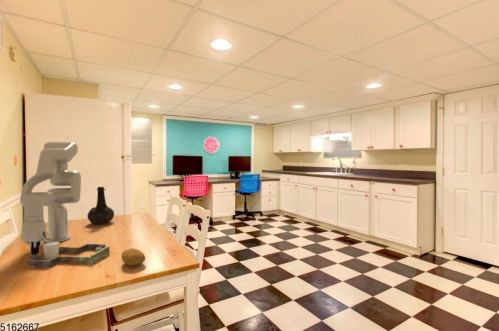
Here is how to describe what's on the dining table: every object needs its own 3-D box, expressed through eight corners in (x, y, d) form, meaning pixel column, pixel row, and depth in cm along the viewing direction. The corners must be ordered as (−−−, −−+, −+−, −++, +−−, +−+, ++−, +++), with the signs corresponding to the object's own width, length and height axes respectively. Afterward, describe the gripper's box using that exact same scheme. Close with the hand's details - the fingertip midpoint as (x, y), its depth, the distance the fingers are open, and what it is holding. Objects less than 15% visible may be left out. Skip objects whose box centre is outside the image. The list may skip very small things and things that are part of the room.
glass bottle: (98, 220, 209) (98, 185, 208) (119, 220, 207) (118, 185, 206) (81, 225, 191) (80, 188, 190) (103, 226, 189) (103, 188, 188)
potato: (126, 271, 116) (126, 256, 116) (118, 262, 126) (118, 248, 125) (147, 265, 122) (147, 251, 122) (138, 257, 132) (138, 244, 131)
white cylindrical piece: (49, 254, 136) (48, 241, 136) (63, 254, 136) (62, 240, 136) (39, 259, 129) (39, 245, 129) (54, 259, 130) (53, 245, 129)
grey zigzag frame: (19, 266, 121) (19, 258, 121) (61, 248, 145) (61, 241, 145) (84, 269, 118) (84, 260, 118) (116, 249, 143) (116, 242, 142)
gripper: (13, 220, 130) (14, 256, 130) (41, 220, 128) (42, 257, 129) (27, 216, 137) (28, 251, 138) (53, 217, 136) (54, 251, 137)
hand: (35, 254), depth 133 cm, fingers closed
